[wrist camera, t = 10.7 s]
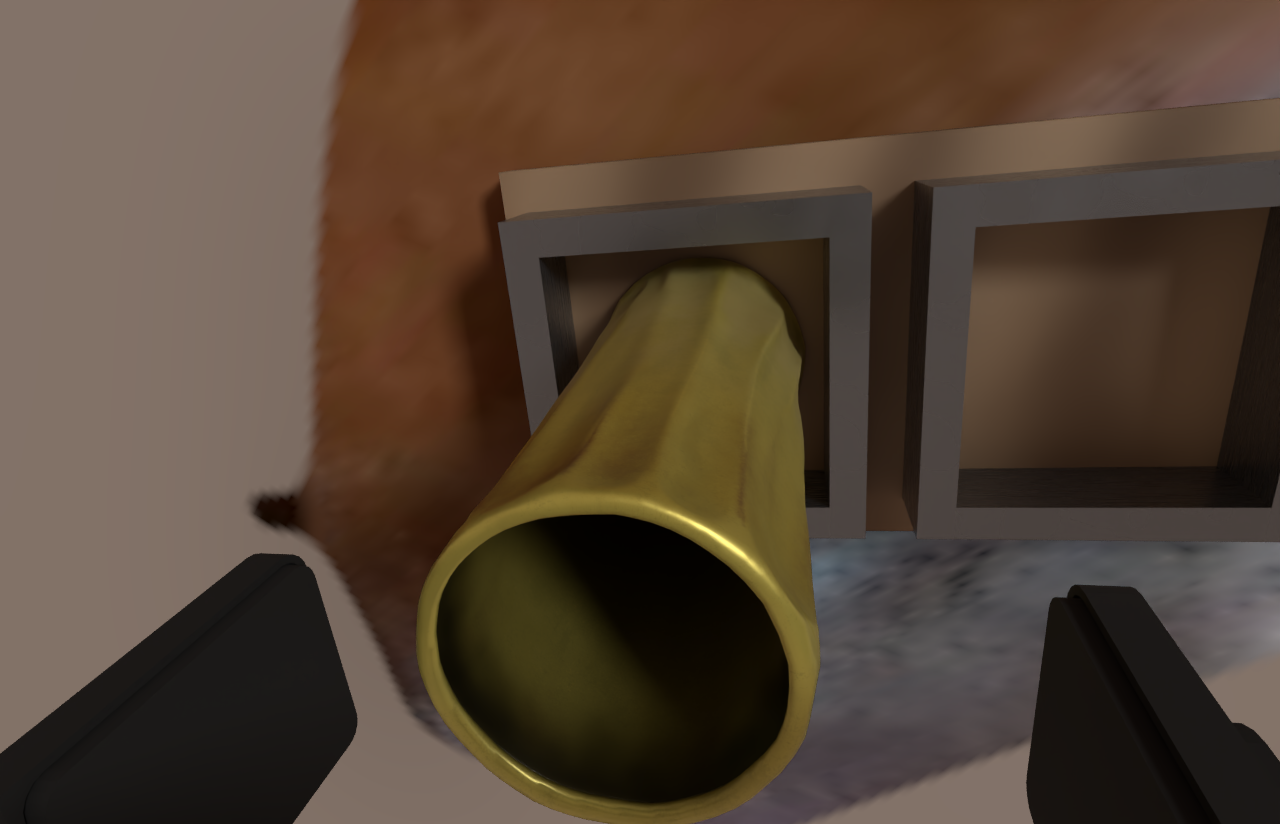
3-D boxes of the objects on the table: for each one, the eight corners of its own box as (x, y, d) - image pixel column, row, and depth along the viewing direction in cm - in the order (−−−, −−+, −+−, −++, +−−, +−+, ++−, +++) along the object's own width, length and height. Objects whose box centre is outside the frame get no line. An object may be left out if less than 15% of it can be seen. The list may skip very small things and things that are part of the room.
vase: (721, 482, 24) (660, 918, 10) (569, 371, 23) (305, 684, 10) (847, 339, 21) (972, 670, 8) (681, 213, 21) (529, 348, 8)
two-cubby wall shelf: (1328, 146, 18) (1436, 149, 15) (1249, 496, 21) (1323, 554, 18) (527, 212, 22) (489, 224, 19) (567, 498, 25) (541, 545, 22)
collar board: (1339, 92, 18) (1375, 89, 17) (1243, 513, 22) (1268, 533, 21) (512, 170, 22) (498, 172, 21) (562, 512, 27) (553, 528, 25)
